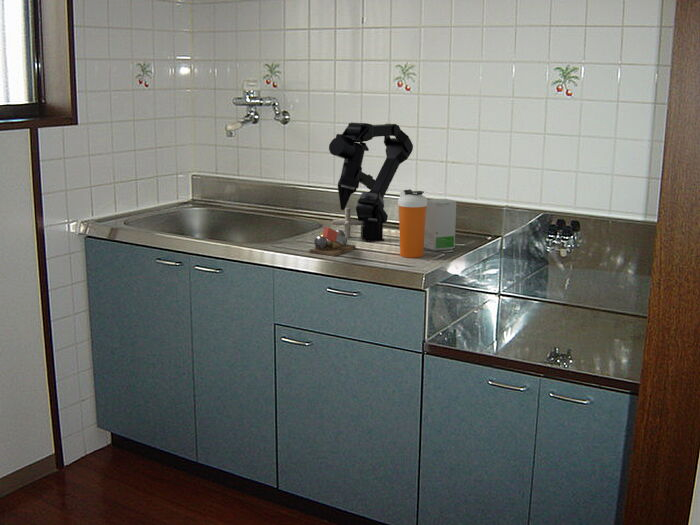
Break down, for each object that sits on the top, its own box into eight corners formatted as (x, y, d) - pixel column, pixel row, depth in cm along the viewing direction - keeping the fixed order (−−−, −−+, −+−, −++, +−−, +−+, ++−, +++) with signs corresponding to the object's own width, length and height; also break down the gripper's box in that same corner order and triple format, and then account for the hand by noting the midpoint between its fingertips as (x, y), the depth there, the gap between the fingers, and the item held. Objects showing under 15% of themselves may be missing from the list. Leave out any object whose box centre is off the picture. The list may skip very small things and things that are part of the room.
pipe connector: (362, 240, 281) (362, 210, 278) (332, 240, 281) (332, 210, 278) (362, 234, 290) (362, 205, 288) (333, 234, 290) (333, 205, 288)
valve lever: (344, 237, 264) (324, 227, 252) (348, 237, 263) (328, 227, 252) (342, 246, 263) (322, 236, 252) (346, 247, 262) (326, 237, 251)
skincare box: (433, 251, 264) (435, 202, 261) (422, 247, 270) (423, 199, 266) (456, 248, 268) (457, 200, 264) (444, 245, 274) (445, 197, 270)
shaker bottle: (417, 259, 252) (419, 193, 248) (391, 256, 257) (392, 191, 252) (431, 254, 260) (432, 190, 255) (405, 251, 264) (406, 187, 260)
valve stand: (331, 245, 272) (331, 227, 271) (355, 248, 268) (355, 230, 267) (309, 253, 261) (309, 234, 260) (334, 256, 257) (334, 237, 256)
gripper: (379, 165, 258) (368, 215, 259) (375, 169, 277) (365, 215, 277) (344, 157, 258) (333, 207, 258) (342, 161, 276) (332, 208, 277)
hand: (342, 210), depth 268 cm, fingers closed
